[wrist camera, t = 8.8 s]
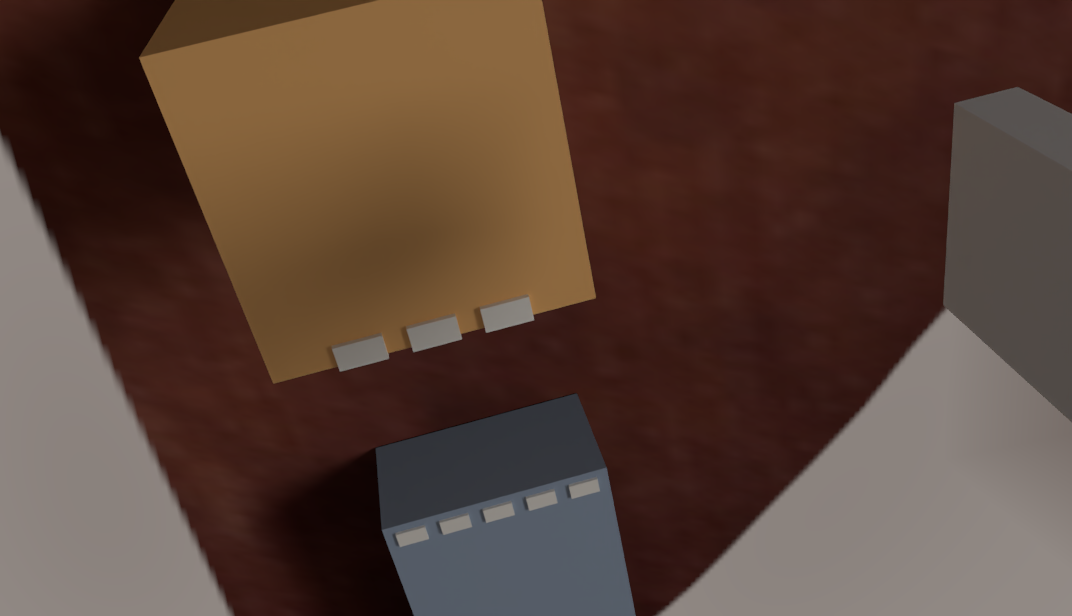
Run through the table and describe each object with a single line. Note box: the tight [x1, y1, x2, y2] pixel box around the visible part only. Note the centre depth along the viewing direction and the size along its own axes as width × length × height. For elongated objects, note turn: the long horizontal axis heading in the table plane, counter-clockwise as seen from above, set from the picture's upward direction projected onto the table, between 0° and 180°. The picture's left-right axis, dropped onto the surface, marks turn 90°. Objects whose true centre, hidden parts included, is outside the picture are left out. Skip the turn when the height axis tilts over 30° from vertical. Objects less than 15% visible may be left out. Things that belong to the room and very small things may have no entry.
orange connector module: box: [139, 0, 596, 384], centre depth 20 cm, size 6×6×11 cm
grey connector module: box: [376, 393, 636, 616], centre depth 33 cm, size 10×7×4 cm
